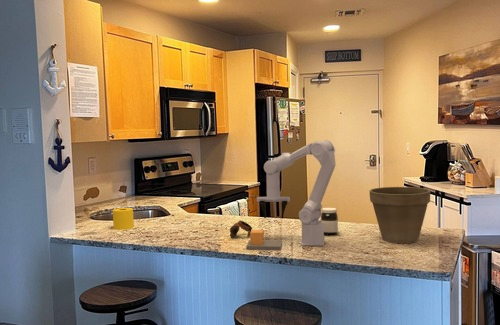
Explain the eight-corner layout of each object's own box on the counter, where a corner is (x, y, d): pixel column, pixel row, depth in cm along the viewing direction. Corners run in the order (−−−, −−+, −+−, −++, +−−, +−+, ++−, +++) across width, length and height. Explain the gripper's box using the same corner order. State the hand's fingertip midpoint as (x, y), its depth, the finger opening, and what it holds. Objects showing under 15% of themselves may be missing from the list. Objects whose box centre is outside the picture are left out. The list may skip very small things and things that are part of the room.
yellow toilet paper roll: (136, 225, 239) (135, 207, 238) (129, 229, 229) (128, 211, 228) (118, 225, 240) (117, 207, 239) (110, 229, 230) (109, 211, 229)
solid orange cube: (264, 241, 193) (263, 230, 192) (262, 244, 188) (262, 232, 187) (252, 241, 193) (251, 229, 193) (250, 244, 188) (250, 232, 188)
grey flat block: (282, 243, 194) (281, 232, 194) (280, 250, 184) (280, 238, 184) (249, 243, 196) (249, 232, 196) (246, 249, 186) (246, 237, 186)
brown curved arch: (234, 234, 216) (243, 219, 215) (249, 245, 211) (257, 230, 211) (220, 233, 206) (229, 217, 205) (235, 244, 201) (244, 228, 200)
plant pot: (358, 236, 204) (357, 188, 202) (403, 230, 213) (403, 184, 211) (394, 249, 181) (394, 195, 179) (443, 243, 189) (443, 191, 188)
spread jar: (337, 236, 205) (337, 211, 204) (312, 236, 207) (312, 210, 206) (338, 230, 216) (337, 206, 215) (314, 230, 219) (313, 206, 218)
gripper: (289, 186, 205) (290, 216, 206) (257, 186, 207) (258, 216, 208) (289, 188, 198) (289, 219, 199) (256, 188, 200) (256, 219, 201)
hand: (273, 217), depth 203 cm, fingers open, 7 cm apart
